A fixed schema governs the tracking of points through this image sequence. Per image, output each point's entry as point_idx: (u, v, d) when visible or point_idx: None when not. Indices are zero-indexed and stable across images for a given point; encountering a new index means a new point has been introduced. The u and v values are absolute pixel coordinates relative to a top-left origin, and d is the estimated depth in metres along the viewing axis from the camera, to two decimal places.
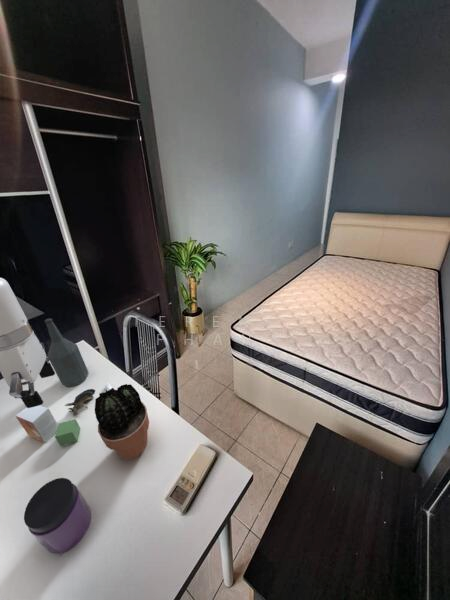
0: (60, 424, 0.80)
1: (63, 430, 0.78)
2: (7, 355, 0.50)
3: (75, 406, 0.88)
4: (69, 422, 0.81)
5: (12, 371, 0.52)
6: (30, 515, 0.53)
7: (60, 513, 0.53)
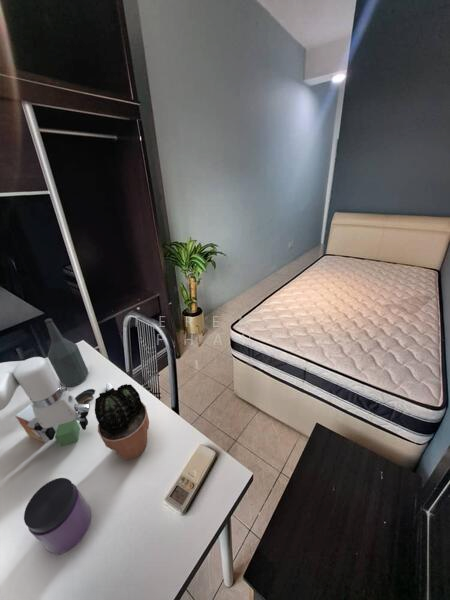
0: (60, 424, 0.80)
1: (63, 430, 0.78)
2: None
3: None
4: (69, 422, 0.81)
5: None
6: (30, 515, 0.53)
7: (60, 513, 0.53)
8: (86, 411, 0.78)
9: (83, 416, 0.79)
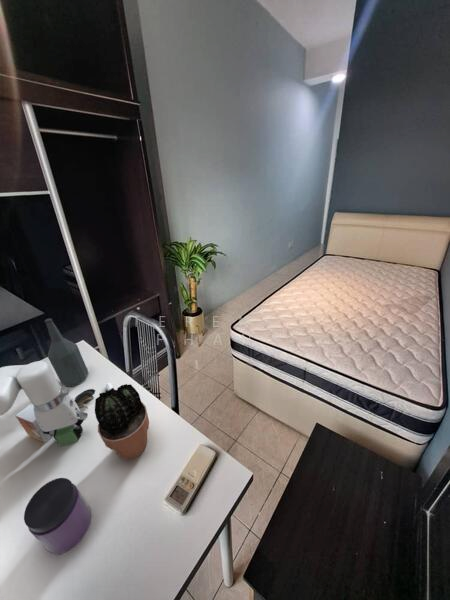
0: None
1: (63, 430, 0.78)
2: None
3: None
4: None
5: None
6: (30, 515, 0.53)
7: (60, 513, 0.53)
8: (82, 419, 0.79)
9: (79, 424, 0.79)
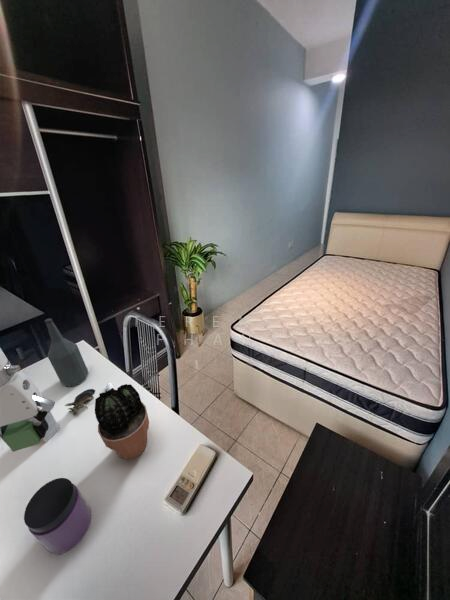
0: None
1: (17, 428, 0.52)
2: None
3: (75, 406, 0.88)
4: None
5: None
6: (30, 515, 0.53)
7: (60, 513, 0.53)
8: (46, 410, 0.53)
9: (41, 418, 0.53)
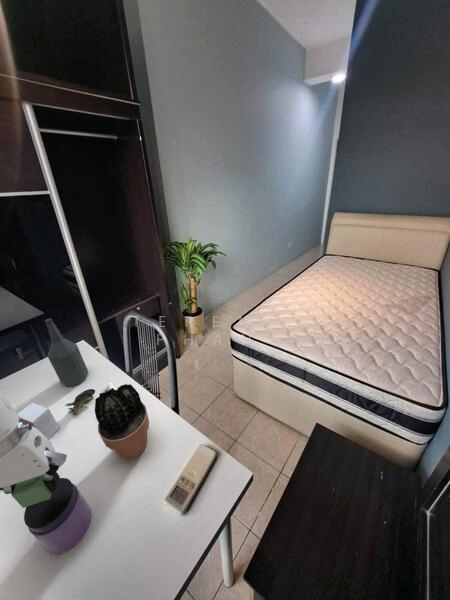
0: None
1: (27, 484, 0.49)
2: None
3: (75, 406, 0.88)
4: None
5: None
6: (30, 515, 0.53)
7: (60, 513, 0.53)
8: (57, 465, 0.50)
9: (53, 473, 0.50)
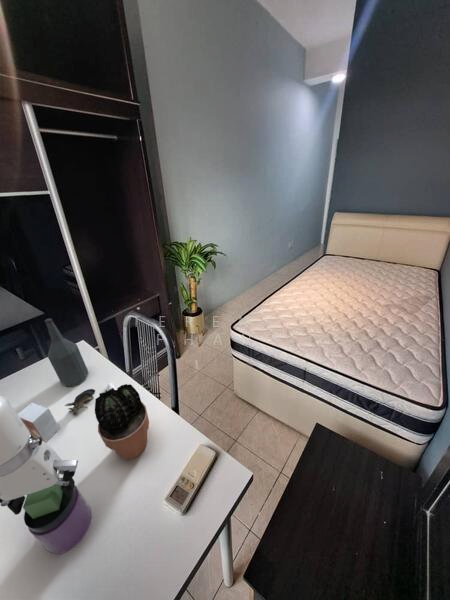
0: None
1: (37, 496, 0.51)
2: None
3: (75, 406, 0.88)
4: None
5: None
6: None
7: (60, 513, 0.53)
8: (72, 471, 0.52)
9: (67, 478, 0.52)
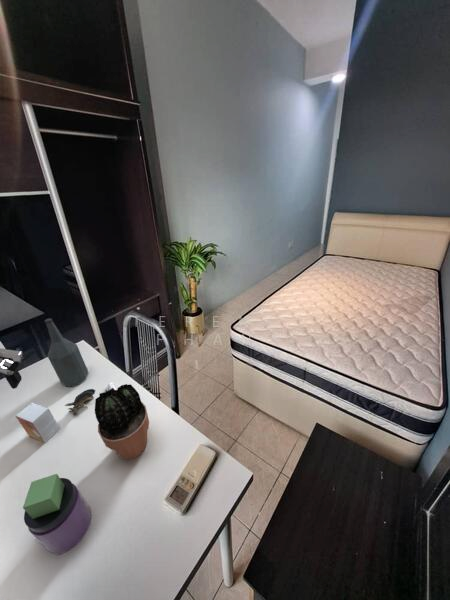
0: (33, 483, 0.54)
1: (37, 496, 0.51)
2: None
3: (75, 406, 0.88)
4: (47, 480, 0.54)
5: None
6: None
7: (60, 513, 0.53)
8: (16, 360, 0.55)
9: (11, 367, 0.55)
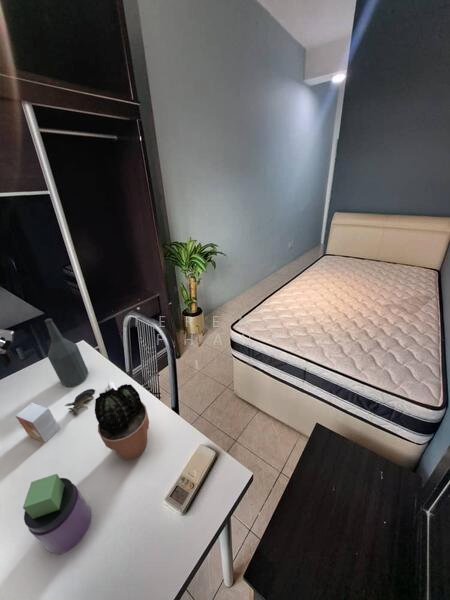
0: (33, 483, 0.54)
1: (37, 496, 0.51)
2: None
3: (75, 406, 0.88)
4: (47, 480, 0.54)
5: None
6: None
7: (60, 513, 0.53)
8: (8, 339, 0.57)
9: (4, 346, 0.58)
